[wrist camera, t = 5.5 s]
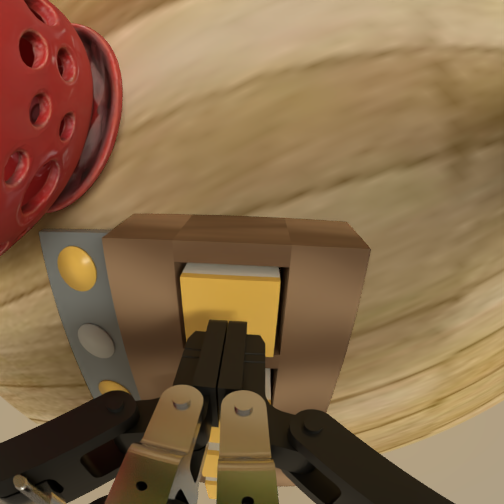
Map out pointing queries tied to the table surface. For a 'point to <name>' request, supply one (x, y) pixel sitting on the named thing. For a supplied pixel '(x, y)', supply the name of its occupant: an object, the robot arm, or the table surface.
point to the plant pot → (51, 112)
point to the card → (87, 307)
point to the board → (240, 253)
